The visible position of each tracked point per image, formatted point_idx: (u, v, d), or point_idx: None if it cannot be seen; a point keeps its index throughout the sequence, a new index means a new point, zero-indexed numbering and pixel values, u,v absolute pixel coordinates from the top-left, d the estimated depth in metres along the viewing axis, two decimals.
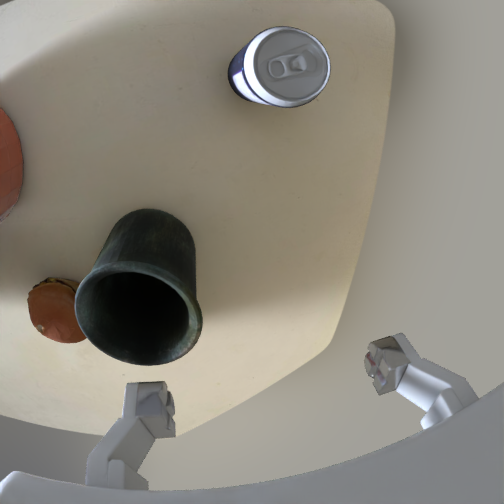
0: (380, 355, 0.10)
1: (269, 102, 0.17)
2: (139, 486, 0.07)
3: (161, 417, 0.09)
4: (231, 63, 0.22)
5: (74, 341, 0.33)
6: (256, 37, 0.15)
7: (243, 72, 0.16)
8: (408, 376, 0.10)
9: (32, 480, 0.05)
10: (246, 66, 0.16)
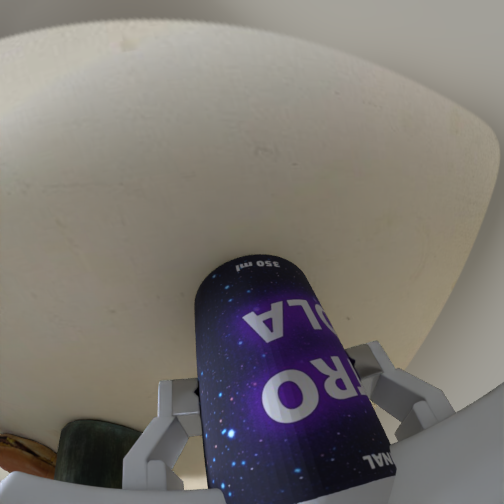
0: (352, 364, 0.10)
1: None
2: (177, 486, 0.07)
3: (199, 414, 0.09)
4: (198, 325, 0.12)
5: None
6: None
7: None
8: (381, 386, 0.09)
9: (32, 480, 0.05)
10: None
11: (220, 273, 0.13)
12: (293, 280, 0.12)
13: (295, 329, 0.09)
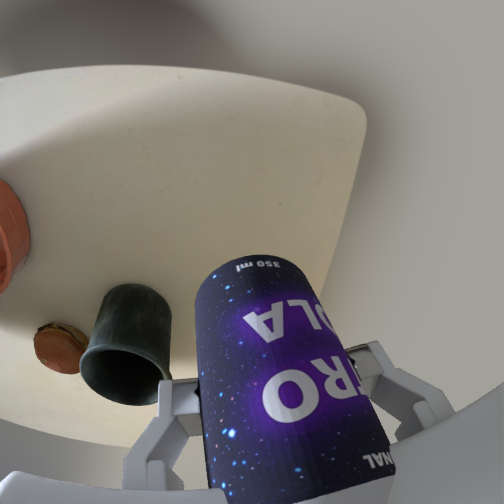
0: (352, 363, 0.10)
1: None
2: (177, 486, 0.07)
3: (199, 414, 0.09)
4: (198, 325, 0.12)
5: (71, 373, 0.38)
6: None
7: None
8: (381, 386, 0.09)
9: (32, 480, 0.05)
10: None
11: (220, 273, 0.13)
12: (293, 280, 0.12)
13: (296, 329, 0.09)
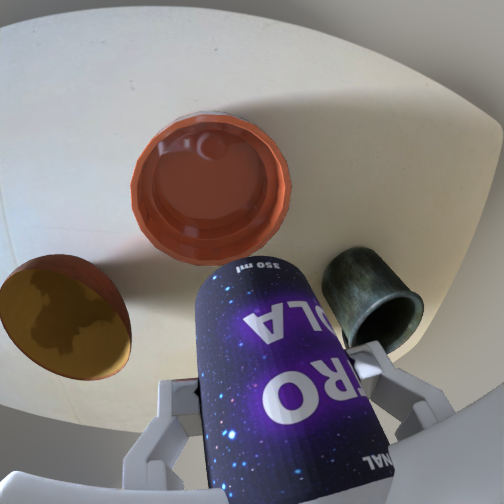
0: (352, 364, 0.10)
1: None
2: (177, 486, 0.07)
3: (199, 414, 0.09)
4: (198, 326, 0.12)
5: None
6: None
7: None
8: (381, 386, 0.09)
9: (32, 480, 0.05)
10: None
11: (221, 274, 0.13)
12: (293, 282, 0.12)
13: (295, 331, 0.09)
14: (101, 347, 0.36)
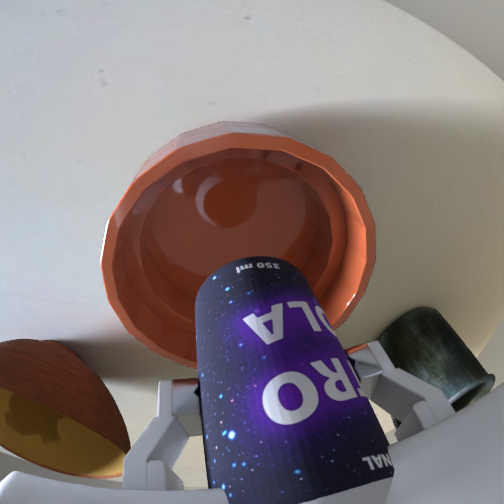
0: (352, 363, 0.10)
1: None
2: (177, 486, 0.07)
3: (199, 414, 0.09)
4: (198, 326, 0.12)
5: None
6: None
7: None
8: (381, 386, 0.09)
9: (32, 480, 0.05)
10: None
11: (220, 275, 0.13)
12: (293, 282, 0.12)
13: (295, 331, 0.09)
14: (92, 437, 0.24)
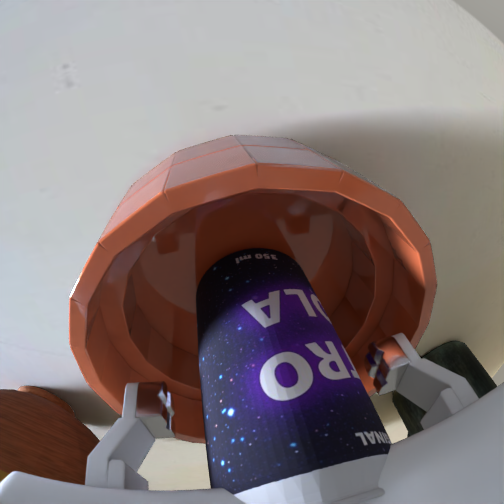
0: (380, 355, 0.10)
1: None
2: (139, 486, 0.07)
3: (161, 417, 0.09)
4: (199, 314, 0.12)
5: None
6: (247, 492, 0.05)
7: None
8: (408, 376, 0.10)
9: (32, 480, 0.05)
10: None
11: (220, 265, 0.13)
12: (289, 272, 0.13)
13: (292, 315, 0.10)
14: None
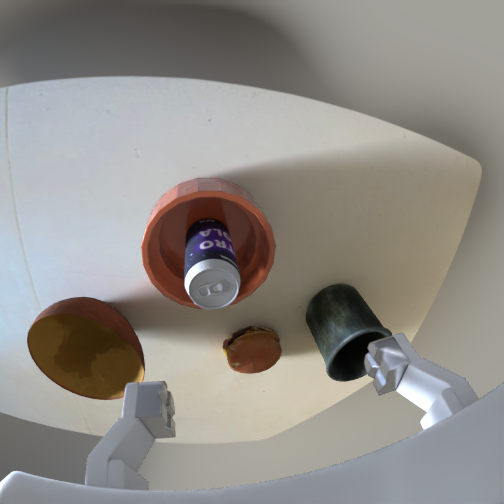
0: (380, 355, 0.10)
1: None
2: (139, 486, 0.07)
3: (161, 417, 0.09)
4: (186, 240, 0.36)
5: (260, 371, 0.49)
6: (192, 267, 0.29)
7: (185, 286, 0.30)
8: (408, 376, 0.10)
9: (32, 480, 0.05)
10: (186, 286, 0.29)
11: (194, 224, 0.37)
12: (217, 225, 0.36)
13: (212, 234, 0.33)
14: (116, 371, 0.42)
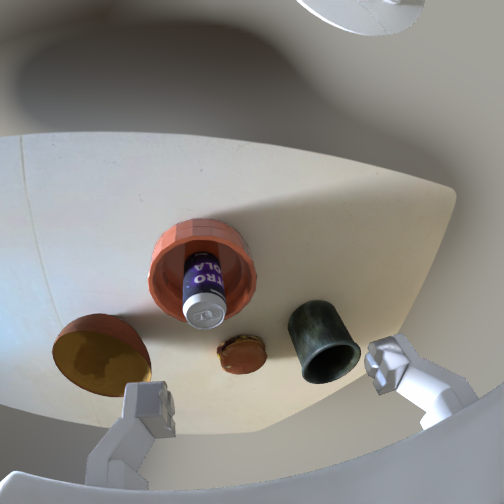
0: (380, 355, 0.10)
1: None
2: (139, 486, 0.07)
3: (161, 417, 0.09)
4: (184, 270, 0.43)
5: (249, 372, 0.57)
6: (188, 299, 0.36)
7: (183, 312, 0.38)
8: (408, 376, 0.10)
9: (32, 480, 0.05)
10: (184, 312, 0.37)
11: (190, 256, 0.44)
12: (209, 258, 0.44)
13: (205, 268, 0.41)
14: (126, 373, 0.51)
